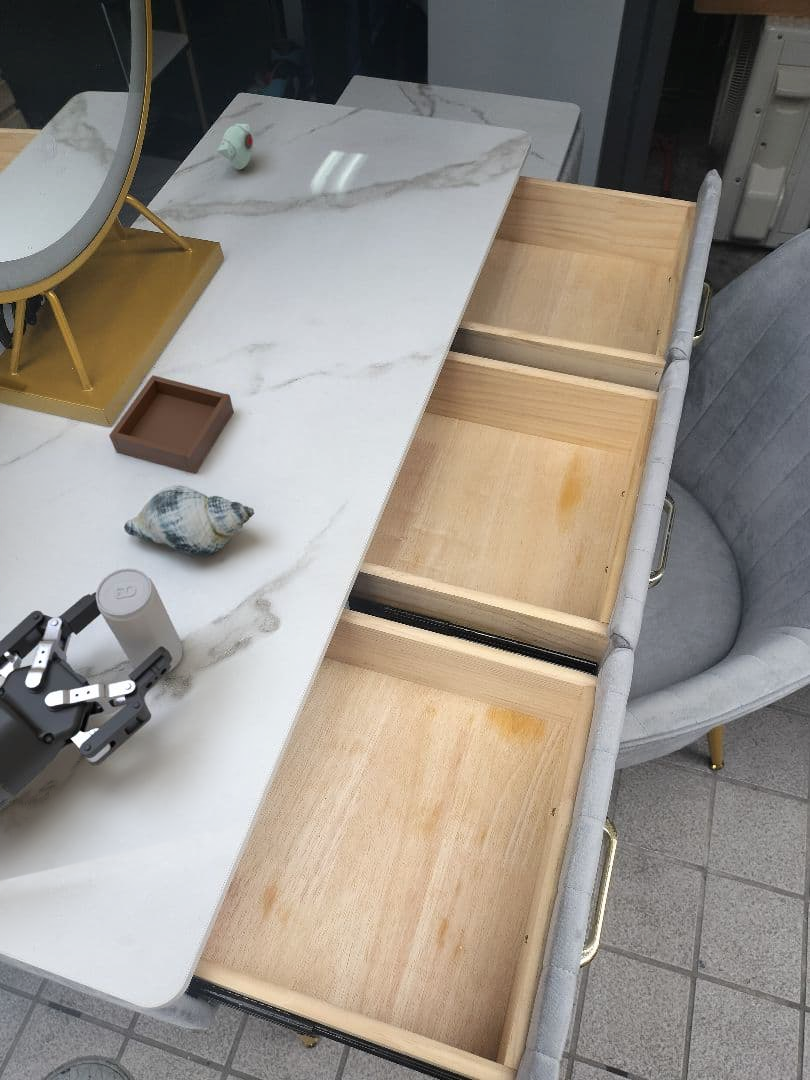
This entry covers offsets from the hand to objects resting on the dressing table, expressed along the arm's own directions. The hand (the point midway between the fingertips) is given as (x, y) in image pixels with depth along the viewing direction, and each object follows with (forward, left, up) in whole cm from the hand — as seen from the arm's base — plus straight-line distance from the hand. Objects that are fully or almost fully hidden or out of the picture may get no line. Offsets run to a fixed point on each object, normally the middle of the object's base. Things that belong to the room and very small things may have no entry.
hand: (134, 624), depth 71 cm
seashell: (-3, +14, -7) cm, 16 cm away
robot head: (-27, +78, -7) cm, 83 cm away
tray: (-11, +27, -7) cm, 30 cm away
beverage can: (0, 0, -7) cm, 7 cm away
